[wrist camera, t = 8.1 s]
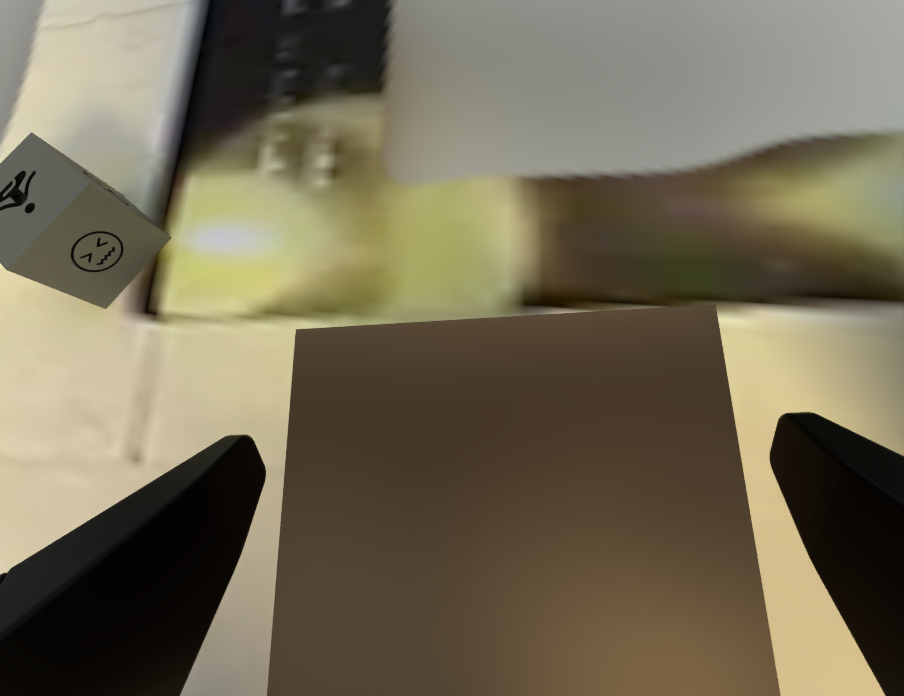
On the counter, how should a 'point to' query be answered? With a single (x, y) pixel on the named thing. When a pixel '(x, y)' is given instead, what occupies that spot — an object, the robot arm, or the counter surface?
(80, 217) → the dice cube
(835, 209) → the counter surface
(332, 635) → the walnut block
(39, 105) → the counter surface
